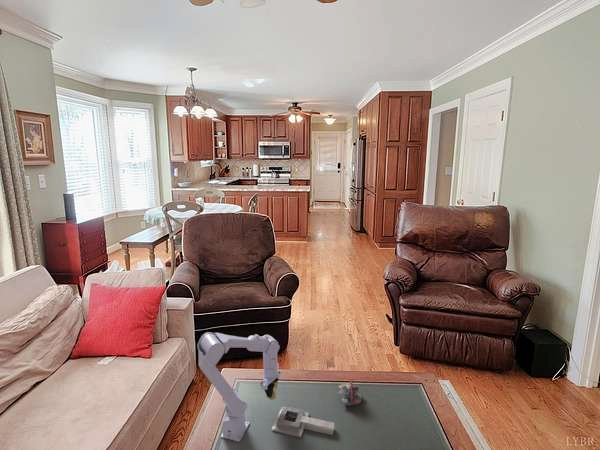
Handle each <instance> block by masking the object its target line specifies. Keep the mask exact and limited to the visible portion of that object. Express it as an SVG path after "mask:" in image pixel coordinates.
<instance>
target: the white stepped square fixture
mask: <svg viewBox="0 0 600 450" xmlns="http://www.w3.org/2000/svg"><path fill="white" fill-rule="evenodd" d="M287 418H292V419H295V421H290V420H287ZM305 430H310V431H313V432H318V433H322V434H326V435H330V436H333V435H334V432H335V422H332V421H327V420H322V419H319V418H314V417H310V412H307V411H305V410H304V409H300V408H296V407H295V408H294V407H291V406H285V405H284V406H281V408H280V410H279V413H278V414H277V417H276V418H275V421H274V423H273V425H272V428H271V432H276V433H279V434H280V433H281V434H285V435H287V436H288V435H289V436H292V437H298V438H302V436H303V433H304V431H305Z"/></svg>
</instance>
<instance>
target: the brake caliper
mask: <svg viewBox="0 0 600 450" xmlns="http://www.w3.org/2000/svg"><path fill="white" fill-rule="evenodd" d="M338 389H339V390H340V391H338V393H339V394H340V397H341V399H340V400H339V401H340V403H343V404H344V405H345V406H347V407H350V406H357V405H359V404H361V403H362V396H361V394H362V393H361V389H360V387H359V386H358V385H355V386H353V377H351V378H350V380H349V384H347V383H346V384H341V385H338Z"/></svg>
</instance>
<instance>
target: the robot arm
mask: <svg viewBox="0 0 600 450" xmlns="http://www.w3.org/2000/svg"><path fill="white" fill-rule="evenodd" d="M230 348H246V350H248V351H249V352H258V353H259V352H260V353H261V352H262V361H263V363H262V364H263V375H262V376H263V378H262V381H261V382H260V386H261V387H262V388H261V389H262V390H264V392H265V394H266V398H268V397H270V398H272V395H273V388H274V386H275V384H274V383H272V381H274V380H276V382H277V383H278V381H279V379H280V378H281V372H280V371H279V368H280V363H278V352H279V350H280V348H281V346H280V345H279V342H278V340H276V339H275V338H274V337H273V336H271V335H270V334H264V335H263V336H260V335H259V334H255V333H254V335H253V334H252V335H249V336H248V337H244V336H243V337H242V336H237V335H236V336H235V335H229V334H224V333H221V332H209V331H207V332H205V333H203V334H202V335H201V337H200V338H199V340H198V343H197V350H198V352H197V353H198V367H199V369H200V370H201V371H202V373H203V374H204V375H205V377H206V379H207V380H208V381H210V383H211V384H212V386H213V387H214V388H215V389H216V391H217V392H218V393H219V395H220V396H221V397H222V401H223V403H224V404H225V417H224V420H223V421H222V425H221V428H222V434H221V435H220V437H221V438H223V439H227V440H231V441H234V442H241V440H242V438H243V436H244V434H245V432H246V431H247V429H248V427H249V426H250V422H249V421H246V415H245V414H246V410H247V408H248V404H247V402H246V401H245V400H244V399H243V398H242V396H241V395H240V394H239V392H238V390H237V389H236V388H233V387H232V386H231V385H230V384H229V382H228V381H227V380H226V378H225V377H224V376H223V375H222V374H221V372H220V371H219V369H218V368H217V367H216V365H217V364H218V363H219V362H220V360H221V359H222V357H223V356H224V354H227V353H228V351H229V350H230ZM277 386H278V384H277V385H276V388H277Z"/></svg>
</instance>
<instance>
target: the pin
mask: <svg viewBox="0 0 600 450" xmlns="http://www.w3.org/2000/svg"><path fill="white" fill-rule="evenodd" d="M272 383H274V384H275V386H274V388H273V395H272V398H270V397H267V399H268V400H270V401H273V400H275V399H276V398H277V387H276V385H277V386H278V382H276V380H274V381H272Z"/></svg>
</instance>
